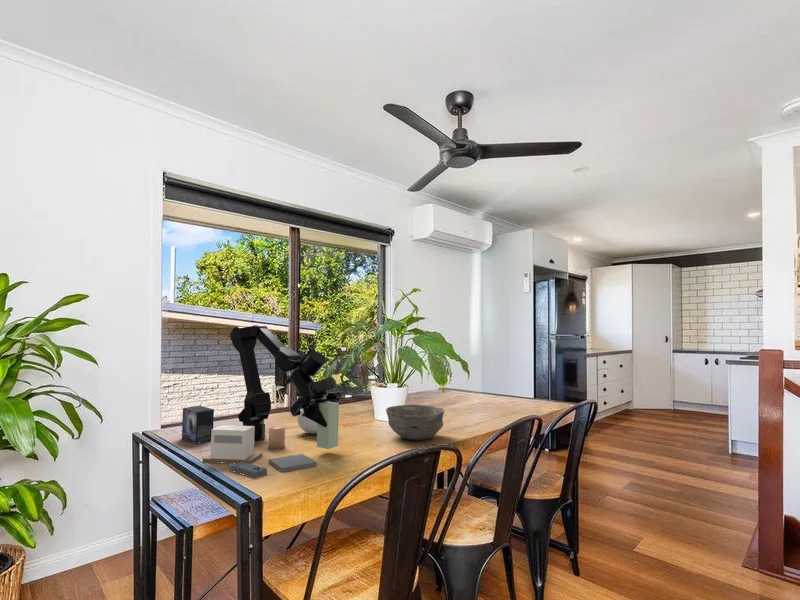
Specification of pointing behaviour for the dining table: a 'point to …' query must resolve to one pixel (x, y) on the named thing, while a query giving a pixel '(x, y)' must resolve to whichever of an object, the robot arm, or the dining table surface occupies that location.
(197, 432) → the small box
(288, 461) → the slate grey pad
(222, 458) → the mounted unit
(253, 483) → the dining table surface
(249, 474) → the bracket
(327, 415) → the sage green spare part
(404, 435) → the bowl
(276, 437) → the peach rounded cylinder
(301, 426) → the decorative ball
